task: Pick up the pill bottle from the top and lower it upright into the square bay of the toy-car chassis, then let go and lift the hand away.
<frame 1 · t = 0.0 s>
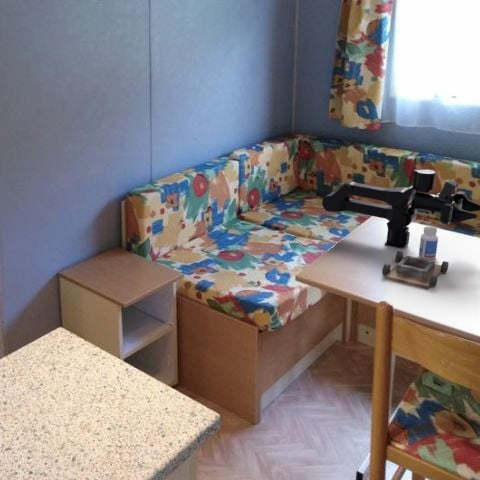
chassis: (415, 273, 207), on the table
pill bottle: (426, 257, 221), on the table
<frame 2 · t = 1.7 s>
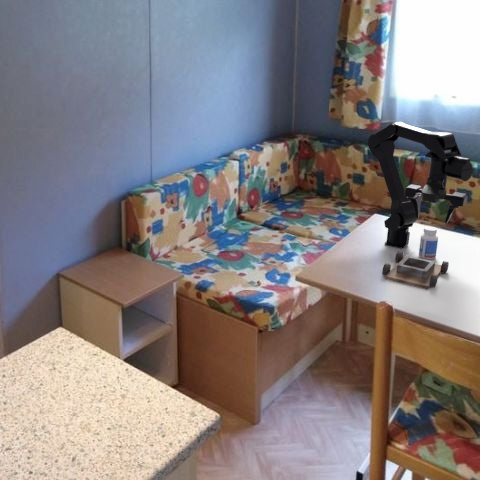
hand: (431, 220, 216), 12 cm above the table, tool pointing down, fingers open, 9 cm apart
nothing on the table moved.
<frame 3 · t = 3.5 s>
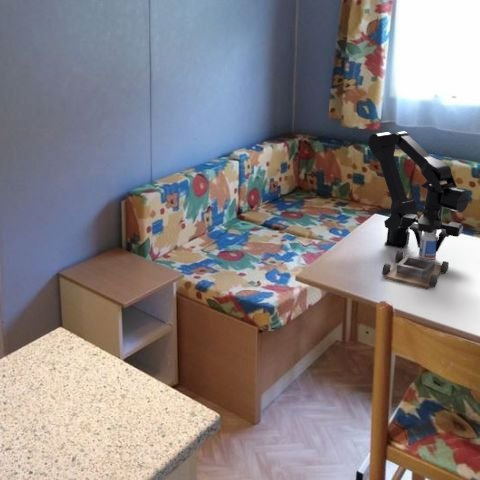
hand: (427, 249, 220), 3 cm above the table, tool pointing down, fingers closed on pill bottle, 5 cm apart
pill bottle: (426, 257, 221), on the table, touching gripper
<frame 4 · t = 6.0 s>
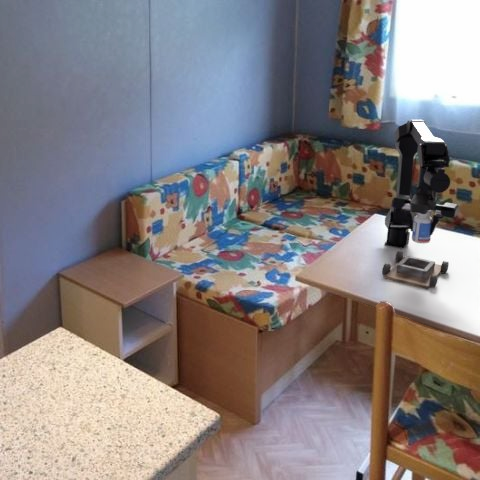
hand: (421, 232, 203), 13 cm above the table, tool pointing down, fingers closed on pill bottle, 5 cm apart
pill bottle: (420, 241, 204), point 11 cm above the table, touching gripper
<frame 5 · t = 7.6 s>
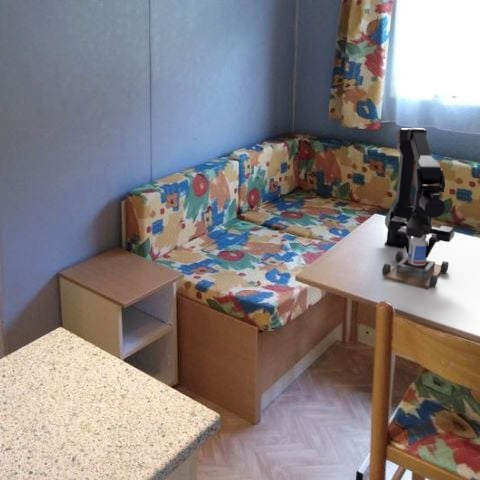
hand: (417, 255, 205), 6 cm above the table, tool pointing down, fingers closed on pill bottle, 5 cm apart
pill bottle: (416, 263, 206), point 3 cm above the table, touching gripper
when the fingers open (5 cm above the table, at t = 8.8 s): pill bottle drops 1 cm, resting on chassis.
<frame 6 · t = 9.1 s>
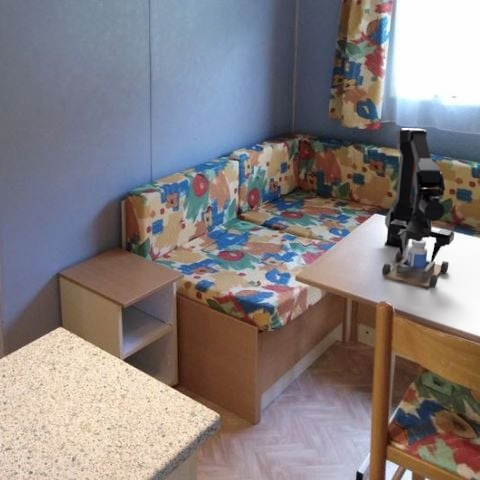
hand: (417, 258, 205), 5 cm above the table, tool pointing down, fingers open, 9 cm apart
pill bottle: (415, 271, 207), point 1 cm above the table, touching chassis
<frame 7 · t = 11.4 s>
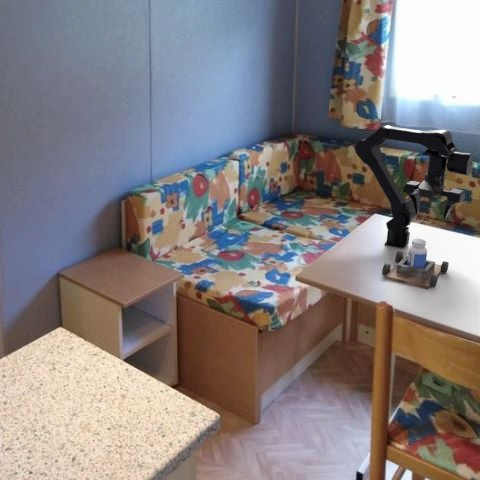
hand: (430, 216, 220), 12 cm above the table, tool pointing down, fingers open, 9 cm apart
nothing on the table moved.
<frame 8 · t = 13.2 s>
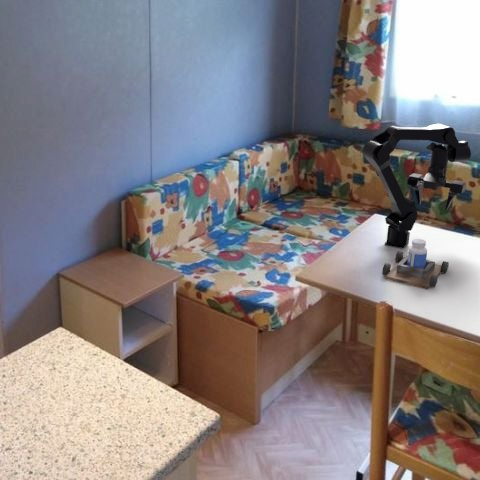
hand: (432, 207, 230), 12 cm above the table, tool pointing down, fingers open, 9 cm apart
nothing on the table moved.
at the end: pill bottle 0.1 cm off-centre on the chassis, point 0.8 cm above the chassis's base; pill bottle tilted 0°; the gripper is holding nothing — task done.
